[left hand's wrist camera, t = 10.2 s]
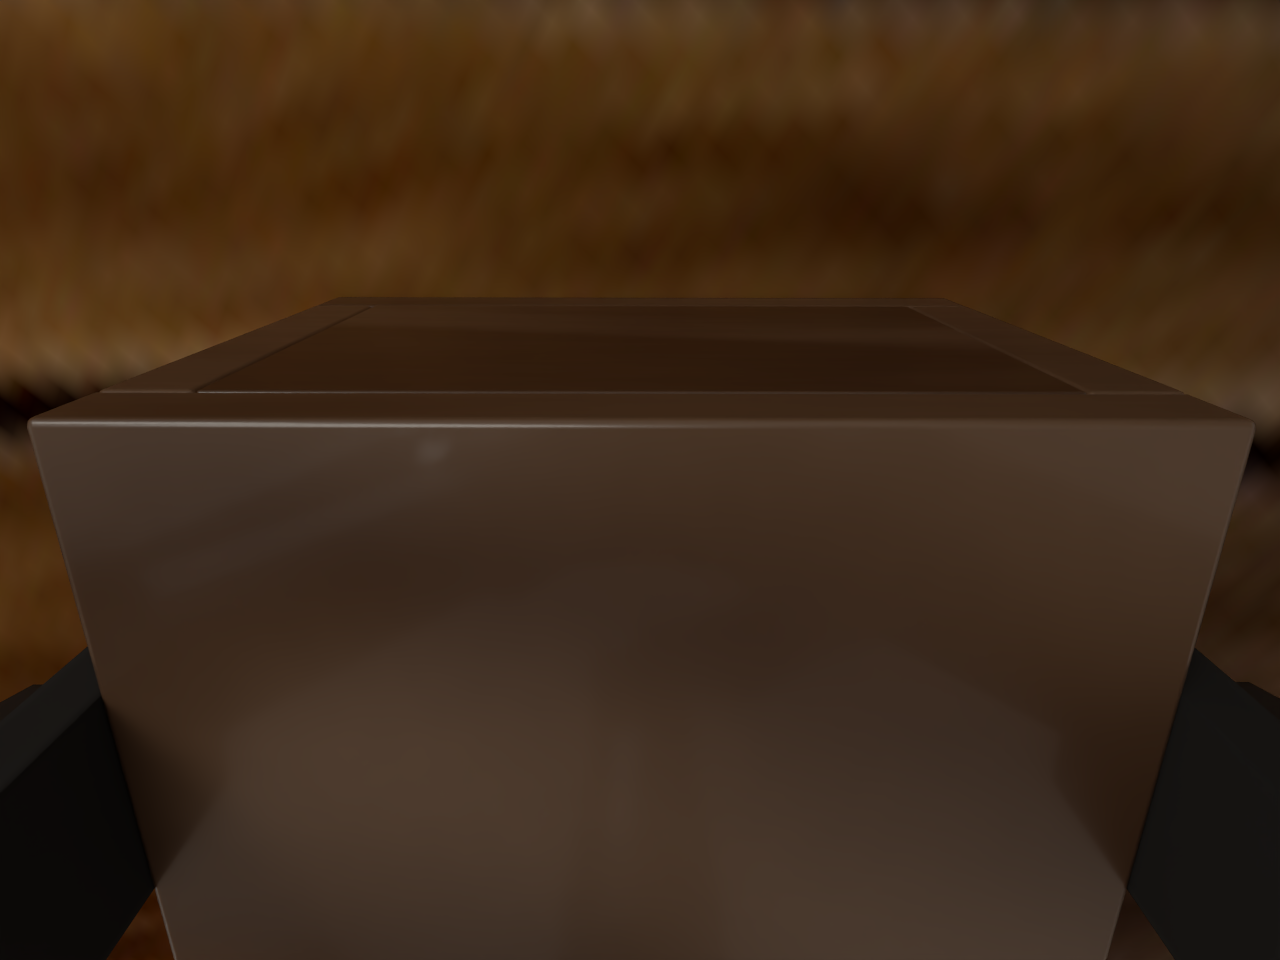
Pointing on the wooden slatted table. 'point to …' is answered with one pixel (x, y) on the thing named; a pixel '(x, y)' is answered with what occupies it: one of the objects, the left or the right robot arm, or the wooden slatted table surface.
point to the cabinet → (640, 627)
